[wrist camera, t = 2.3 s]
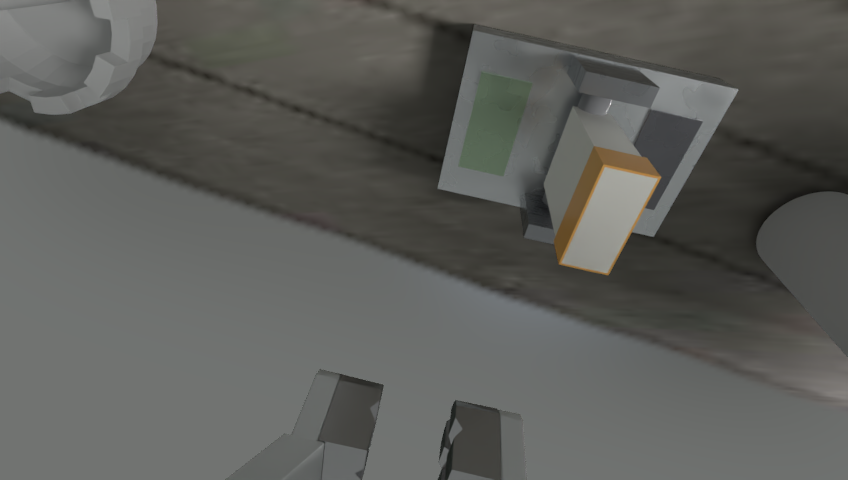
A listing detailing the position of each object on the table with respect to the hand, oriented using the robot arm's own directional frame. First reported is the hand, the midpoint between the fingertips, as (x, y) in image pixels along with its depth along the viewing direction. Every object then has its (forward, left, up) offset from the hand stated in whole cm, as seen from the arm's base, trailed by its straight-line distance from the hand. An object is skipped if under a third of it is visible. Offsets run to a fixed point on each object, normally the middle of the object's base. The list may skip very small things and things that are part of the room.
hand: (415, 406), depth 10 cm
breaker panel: (-7, 0, -23) cm, 24 cm away
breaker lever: (-7, 0, -20) cm, 21 cm away
